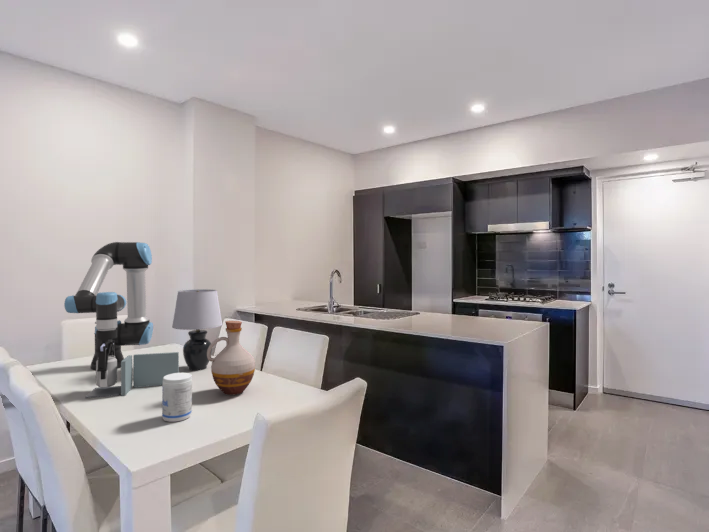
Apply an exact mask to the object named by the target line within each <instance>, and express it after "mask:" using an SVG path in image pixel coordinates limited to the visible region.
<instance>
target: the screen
mask: <svg viewBox="0 0 709 532" xmlns="http://www.w3.org/2000/svg"><path fill="white" fill-rule="evenodd" d="M179 361H180V355H179V351H173V352H155V353H154V352H153V353H135V354H133V355H131V354H130V355H126V357H124V360H122V361H121V367H120V386H121V394H120V397H122V396H123V397H125V396H127V394H128V393H129V392H130V390H131V389H132V388H141V387H142V388H143V387H154V386H155V387H156V386H163V377H164V376H166V375H168V374H173V373H180V369H179V366H180V362H179Z"/></svg>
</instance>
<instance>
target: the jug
mask: <svg viewBox="0 0 709 532" xmlns="http://www.w3.org/2000/svg"><path fill="white" fill-rule="evenodd" d="M242 323H243V321H241V320H225V326H226V328H225V332H226V336H227V337H226V336H221V337H218V338H216V339H214V340H213V341H212V342H211V344H210V346H209V348H208V350H207V358H208V360H209V362H211V364H210V365H211V367H210V371H211V375H212V379H213V381H214V384H215V385H216V387H217V388H218V389H219V390H220V391H221V392H222V393H223V394H224V395H226V396H237V395H240V394H242V393H244V391H245V390H247V388H248V387H249V385H250V384H251V382H252V380H253V377H254V374H255V370H256V360H255V357H254V356H253V355H252V354H251V353H250V352H249V351H248V350H246V348H244V347H243V345H242V344H241V343H240V337H241V332H242V330H243V329H242V328H243V327H242ZM221 341H225V343H226V345H225V346H224V347H223V349H222V350H221V351H220V352H218V353H217V354H216V355H215V357H212V355H210V354H211V349H212V350H213V348H214V346H215V345H216V344H217V343H219V342H221Z"/></svg>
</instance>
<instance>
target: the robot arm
mask: <svg viewBox="0 0 709 532" xmlns="http://www.w3.org/2000/svg"><path fill="white" fill-rule="evenodd" d="M152 256H153V255H152V251H151V248H150V245H149V244H148V243H145V242H138V241H135V242H133V241H132V242H131V241H128V242H127V241H126V242H125V241H121V242H119V241H115V242H114V241H113V242H110V243H106V244H105V245H103V246H101V247H100V248H99V249H98V250H97V251H95V253H94V254H93V256H92V258H91V260H90V262H91V264H90V267H89V269H88V271H87V272H86V274H85V277H84V278H83V280H82V282H81V284H80V286H79V287H78V290H77V291H76V294H75V295H74V294H73V295H68V296H67V297H65V299H64V305H63V307H64V310H65V312H66V313H68V314H87V313H88V314H93V313H95V315H96V316H95V319H96V320H95V322H94V324H95V327H94V333H93V334H94V353H93V357H92V359H91V363H90V369H91V370H94V371H96V361H97V360H98V370H97V372H99V371H100V387H107V386H108V370H107V364H108V356H115V358H116V359H117V369H118V368H121V361H122V360H124V359H125V357H124V355H123V352H122V346H143V345H148V344H149V343H150V342H151V340H152V337H153V334H154V333H153V331H154V323H153V322H152V321H150V317H148V316H147V305H146V304H147V303H146V301H147V300H146V299H147V298H146V297H147V295H146V291H147V290H146V271H147V270H148V269H149V266H151V265H152V263H153V257H152ZM117 265H119V266H122V270H124V271H125V273H126V298H125V296H123V295H121V294H118V293H117V292H115V291H102V292H99V291H100V289H101V287H102V285H103V282H104V280H105V279H106V276H107V274H108V272H109V270H110V269H112V268H113V266H117ZM126 306H127V307H126ZM125 308H127V317H126V318H125V319H124V322H123V323H122V320H118V312H120V311H123V310H124V309H125ZM102 367H103V368H102Z"/></svg>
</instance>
